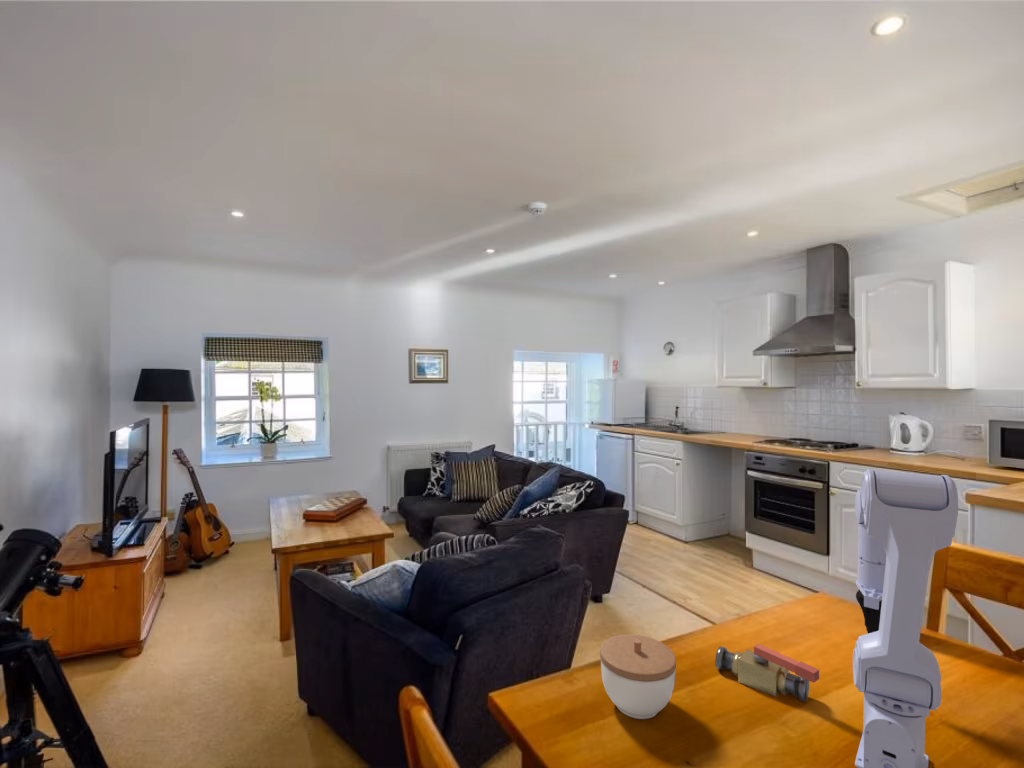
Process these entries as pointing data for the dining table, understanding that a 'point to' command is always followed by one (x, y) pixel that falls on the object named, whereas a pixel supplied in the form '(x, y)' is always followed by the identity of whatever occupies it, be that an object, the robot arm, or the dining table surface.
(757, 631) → the dining table surface
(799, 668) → the lever
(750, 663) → the pipe valve
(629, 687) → the lidded bowl
